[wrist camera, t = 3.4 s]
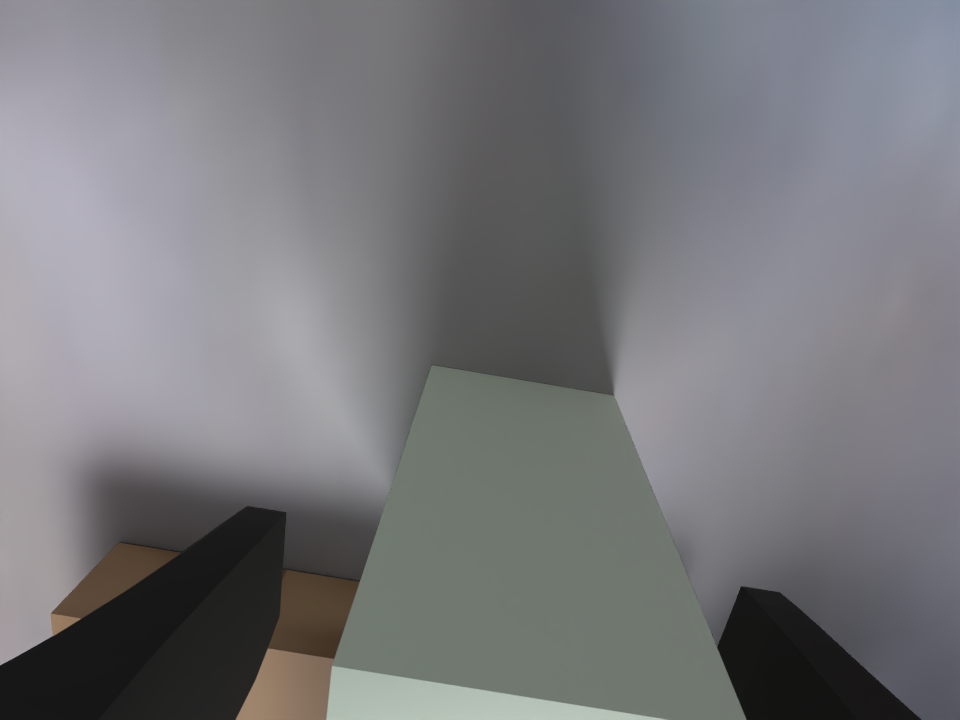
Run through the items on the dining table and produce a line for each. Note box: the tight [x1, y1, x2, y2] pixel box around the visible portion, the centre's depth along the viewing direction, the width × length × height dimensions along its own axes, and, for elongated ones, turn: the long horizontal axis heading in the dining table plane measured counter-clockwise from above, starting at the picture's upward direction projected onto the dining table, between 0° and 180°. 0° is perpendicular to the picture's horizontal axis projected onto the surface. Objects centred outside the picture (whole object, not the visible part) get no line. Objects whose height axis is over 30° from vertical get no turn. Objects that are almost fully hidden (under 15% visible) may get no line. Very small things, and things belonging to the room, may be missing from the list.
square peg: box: [326, 365, 746, 720], centre depth 10 cm, size 4×4×8 cm
